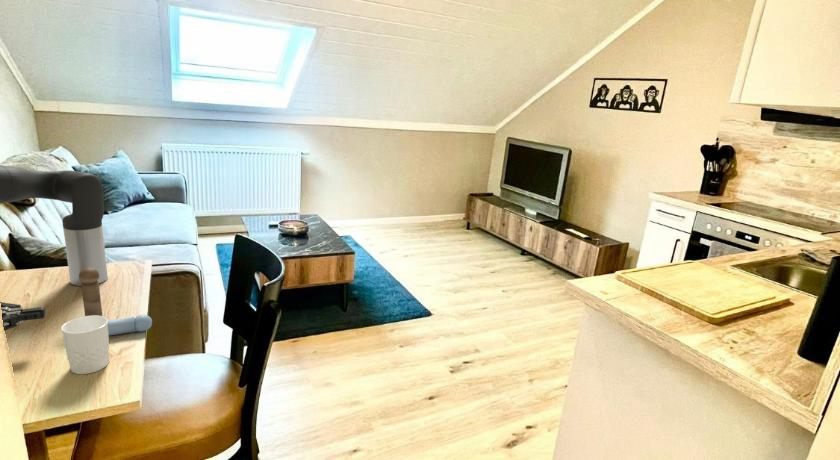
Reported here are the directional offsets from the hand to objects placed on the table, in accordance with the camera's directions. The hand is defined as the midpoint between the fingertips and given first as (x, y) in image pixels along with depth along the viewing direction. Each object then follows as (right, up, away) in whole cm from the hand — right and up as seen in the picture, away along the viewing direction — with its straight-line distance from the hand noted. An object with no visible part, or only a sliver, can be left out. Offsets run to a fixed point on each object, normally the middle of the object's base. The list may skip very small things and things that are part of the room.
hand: (44, 312), depth 100 cm
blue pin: (+5, -6, +5) cm, 9 cm away
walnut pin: (0, -4, +15) cm, 16 cm away
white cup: (+13, -11, -4) cm, 18 cm away
